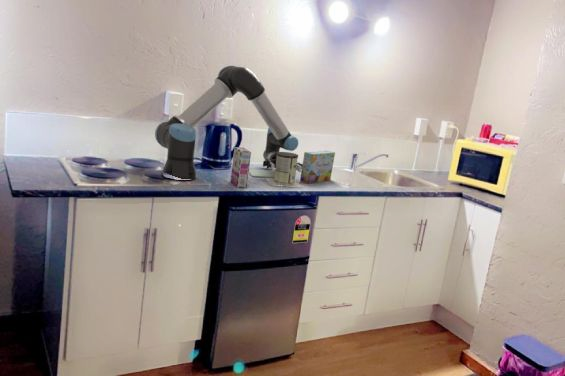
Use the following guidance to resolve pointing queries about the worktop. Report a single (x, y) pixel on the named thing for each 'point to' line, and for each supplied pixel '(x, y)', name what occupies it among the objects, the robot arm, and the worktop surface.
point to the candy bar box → (240, 167)
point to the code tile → (271, 181)
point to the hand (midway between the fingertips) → (287, 168)
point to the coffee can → (285, 168)
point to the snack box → (317, 166)
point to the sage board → (262, 173)
